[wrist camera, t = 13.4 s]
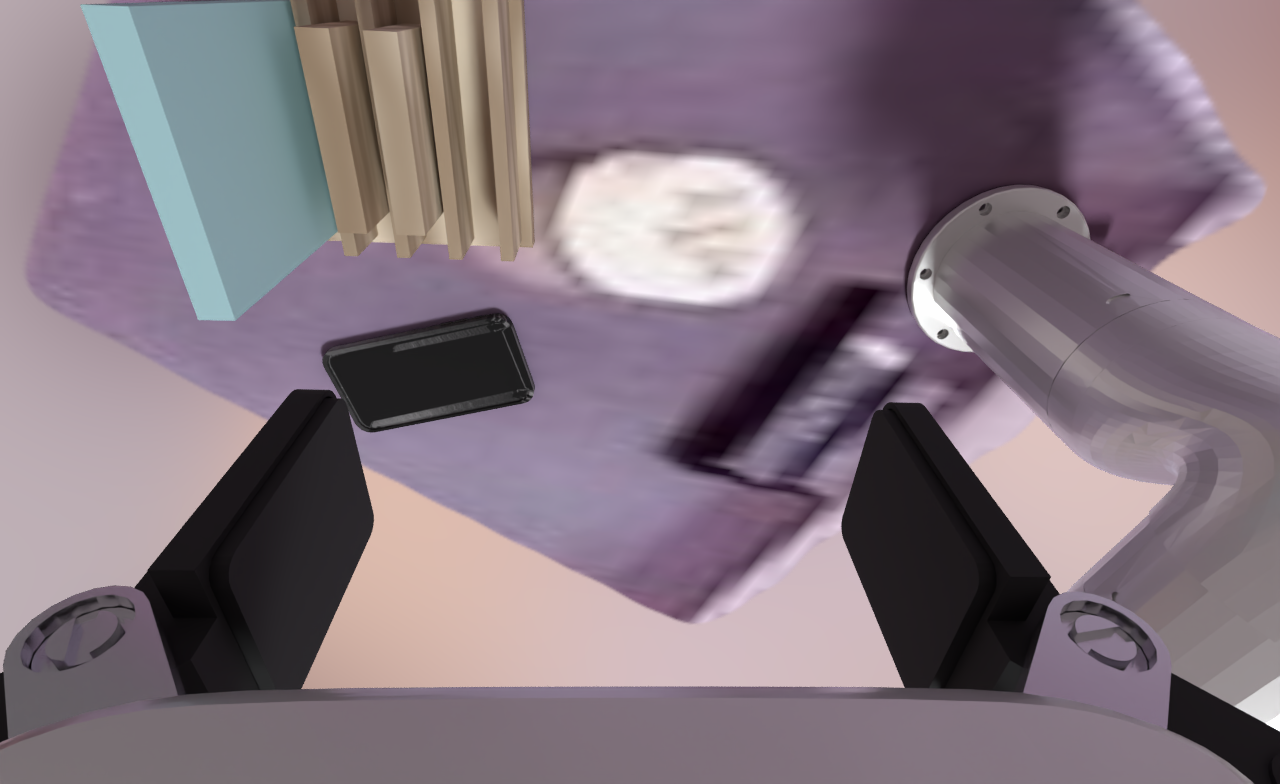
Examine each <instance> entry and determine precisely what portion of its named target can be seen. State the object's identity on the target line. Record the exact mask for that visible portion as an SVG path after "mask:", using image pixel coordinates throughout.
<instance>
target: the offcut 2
mask: <svg viewBox="0 0 1280 784" xmlns="http://www.w3.org/2000/svg"><path fill="white" fill-rule="evenodd" d="M363 36H364V42H365V48H366V54H367V60H368V66H369V72H370V78H371V84H372V90H373V96H374V102H375V108H376V114H377V120H378V127H379V133H380V139H381V145H382V151H383V157H384V163H385V169H386V175H387V181H388V187H389V193H390V199H391V205H392V211H393V217H394V223H395V230H396V235H417V236H426V234H427V233H428V232H429V230H430V229H431V228H432V226H433V225H434V224H435V223H436V221H437V220H438V219H439V217H440V216H441V215H442V214H443V212H444V210H443V202H442V193H441V185H440V177H439V169H438V160H437V152H436V144H435V136H434V127H433V119H432V111H431V103H430V94H429V86H428V78H427V70H426V61H425V53H424V45H423V37H422V28H421V24H405V23H404V24H398V25H392V26H385V27H379V28H373V29H367V30H363Z"/></svg>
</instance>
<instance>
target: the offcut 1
mask: <svg viewBox="0 0 1280 784" xmlns="http://www.w3.org/2000/svg"><path fill="white" fill-rule="evenodd" d="M294 30H295V35H296V40H297V44H298V49H299V53H300V58H301V63H302V67H303V72H304V77H305V81H306V86H307V91H308V95H309V100H310V104H311V109H312V114H313V118H314V123H315V128H316V132H317V137H318V142H319V146H320V151H321V155H322V160H323V165H324V169H325V174H326V179H327V183H328V188H329V193H330V197H331V202H332V207H333V211H334V216H335V220H336V225H337V230H338V233H359V234H368V233H369V232H370V231H371V230H372V229H373V228H374V227H375V226H376V225H377V224H378V223H379V222H380V221H381V220H382V219H383V218H384V217H385V216H386V215H387V214H388V213H389V212H390V210H389V204H388V198H387V192H386V187H385V181H384V175H383V169H382V163H381V157H380V151H379V145H378V139H377V133H376V127H375V121H374V115H373V109H372V103H371V97H370V91H369V85H368V79H367V73H366V67H365V61H364V55H363V49H362V43H361V37H360V31H359V25H358V21H338V22H330V23H321V24H313V25H304V26H296V27H294Z"/></svg>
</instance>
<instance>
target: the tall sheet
mask: <svg viewBox="0 0 1280 784" xmlns="http://www.w3.org/2000/svg"><path fill="white" fill-rule="evenodd" d="M81 8H82V11H83V13H84V16H85V18H86V21H87V24H88V27H89V29H90V32H91V35H92V37H93V40H94V43H95V45H96V48H97V51H98V53H99V56H100V59H101V61H102V64H103V67H104V69H105V72H106V75H107V77H108V80H109V83H110V85H111V88H112V91H113V93H114V96H115V99H116V101H117V104H118V107H119V109H120V112H121V115H122V117H123V120H124V123H125V125H126V128H127V131H128V133H129V136H130V139H131V141H132V144H133V147H134V149H135V152H136V155H137V157H138V160H139V163H140V165H141V168H142V171H143V173H144V176H145V179H146V181H147V184H148V187H149V189H150V192H151V195H152V197H153V200H154V203H155V205H156V208H157V211H158V213H159V216H160V219H161V221H162V224H163V227H164V229H165V232H166V235H167V237H168V240H169V243H170V245H171V248H172V251H173V253H174V256H175V259H176V261H177V264H178V267H179V269H180V272H181V275H182V277H183V280H184V283H185V285H186V288H187V291H188V293H189V296H190V299H191V302H192V304H193V307H194V310H195V312H196V315H197V318H198V320H229V321H235V320H237V319H238V318H239V317H240V316H241V315H242V314H243V313H245V312H246V311H247V310H248V309H249V308H250V307H252V306H253V305H254V304H255V303H256V302H257V301H258V300H260V299H261V298H262V297H263V296H264V295H265V294H266V293H268V292H269V291H270V290H271V289H272V288H273V287H274V286H276V285H277V284H278V283H279V282H280V281H281V280H283V279H284V278H285V277H286V276H287V275H288V274H289V273H291V272H292V271H293V270H294V269H295V268H296V267H297V266H299V265H300V264H301V263H302V262H303V261H304V260H306V259H307V258H308V257H309V256H310V255H311V254H312V253H314V252H315V251H316V250H317V249H318V248H319V247H320V246H322V245H323V244H324V243H325V242H326V241H327V240H329V239H330V238H331V237H332V236H333V235H334V234H335V233H337V232H338V230H337V225H336V220H335V216H334V211H333V207H332V202H331V197H330V193H329V188H328V183H327V179H326V174H325V169H324V165H323V160H322V155H321V151H320V146H319V142H318V137H317V132H316V128H315V123H314V118H313V114H312V109H311V104H310V100H309V95H308V91H307V86H306V81H305V77H304V72H303V67H302V63H301V58H300V53H299V49H298V44H297V40H296V35H295V30H294V27H296V25H295V20H294V16H293V11H292V6H291V2H290V0H218V1H183V2H148V3H114V4H83V5H82V4H81Z"/></svg>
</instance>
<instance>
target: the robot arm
mask: <svg viewBox="0 0 1280 784" xmlns="http://www.w3.org/2000/svg"><path fill="white" fill-rule="evenodd" d="M981 206H982V207H981ZM980 207H981V208H980ZM923 269H924V270H923ZM922 270H923V271H922ZM921 271H922V272H921ZM907 298H908V305H909V308H910V311H911V314H912V316H913V318H914V320H915V321H916V323H917V325H918V326H919V327H920V328H921V329H922V330H923V331H924V333H925V334H926V335H927V336H928V337H929V338H931V339H932V340H933V341H934V342H936V343H938V344H940V345H942V346H944V347H947V348H949V349H953V350H958V351H962V352H975V353H976V354H977V355H978V356H979V357H980V358H981V359H982V360H983V361H984V362H985V363H986V364H987V366H988V367H989V368H990V369H991V370H992V371H993V372H994V373H995V374H996V375H997V376H998V377H999V378H1000V379H1001V380H1002V381H1003V382H1004V383H1005V384H1006V385H1007V386H1008V387H1009V388H1010V389H1011V390H1012V391H1013V392H1014V393H1015V394H1016V395H1017V396H1018V397H1019V398H1020V399H1021V400H1022V401H1023V402H1024V403H1025V404H1026V405H1027V406H1028V407H1029V408H1030V409H1031V410H1032V411H1033V412H1034V413H1035V414H1036V415H1037V416H1038V417H1039V418H1040V419H1041V420H1042V421H1043V422H1044V423H1045V424H1046V425H1047V426H1048V427H1049V428H1050V429H1051V430H1052V431H1053V432H1054V433H1055V434H1056V436H1058V437H1059V438H1060V439H1061V440H1062V441H1063V442H1064V443H1065V444H1066V445H1067V446H1068V447H1069V448H1070V449H1071V450H1072V451H1073V452H1074V453H1075V454H1077V455H1078V456H1079V457H1080V458H1082V459H1083V460H1084V461H1086V462H1088V463H1090V464H1091V465H1093V466H1094V467H1097V468H1098V469H1100V470H1103V471H1105V472H1108V473H1111V474H1113V475H1116V476H1119V477H1123V478H1127V479H1132V480H1136V481H1141V482H1148V483H1157V484H1165V485H1174V486H1173V487H1172V489H1171V490H1170V491H1169V492H1168V493H1167V494H1166V495H1165V496H1164V497H1163V498H1162V499H1161V500H1160V501H1159V502H1158V503H1157V504H1156V505H1155V506H1154V507H1153V508H1152V509H1151V510H1150V512H1149V515H1148V516H1147V517H1146V518H1145V519H1143V520H1142V521H1141V522H1140V523H1139V524H1138V525H1137V526H1136V527H1135V528H1134V529H1133V530H1132V531H1131V532H1130V533H1128V534H1127V535H1126V536H1125V537H1124V538H1123V539H1122V540H1121V541H1120V542H1119V543H1118V544H1117V545H1116V546H1114V547H1113V548H1112V549H1111V550H1110V551H1109V552H1108V553H1107V554H1106V555H1105V556H1104V557H1103V558H1102V559H1100V560H1099V561H1098V562H1097V563H1096V564H1095V565H1094V566H1093V567H1092V568H1091V569H1090V570H1089V571H1088V572H1087V573H1086V574H1084V576H1082V577H1081V578H1080V579H1079V580H1078V581H1077V582H1076V583H1075V584H1074V585H1073V586H1072V587H1071V588H1070V589H1069V590H1068V591H1067V592H1066V593H1062V594H1059V592H1058V591H1057V590H1056V588H1055V587H1054V586H1053V584H1052V583H1051V582H1050V578H1051V576H1050V575H1049V574H1048V573H1047V571H1046V570H1045V569H1044V567H1043V566H1042V564H1041V563H1040V562H1039V560H1038V559H1037V557H1036V556H1035V555H1034V553H1033V552H1032V551H1031V549H1030V548H1029V547H1028V545H1027V544H1026V543H1025V541H1024V540H1023V539H1022V537H1021V536H1020V534H1019V533H1018V532H1017V530H1016V529H1015V528H1014V526H1013V525H1012V524H1011V522H1010V521H1009V520H1008V518H1007V517H1006V516H1005V514H1004V513H1003V512H1002V510H1001V509H1000V507H999V506H998V505H997V503H996V502H995V501H994V499H993V498H992V497H991V495H990V494H989V493H988V491H987V490H986V488H985V487H984V486H983V484H982V483H981V482H980V480H979V479H978V478H977V476H976V475H975V474H974V472H973V471H972V469H971V468H970V467H969V465H968V464H967V463H966V461H965V460H964V459H963V457H962V456H961V455H960V453H959V452H958V450H957V449H956V448H955V446H954V445H953V444H952V442H951V441H950V440H949V438H948V437H947V436H946V434H945V433H944V432H943V430H942V429H941V427H940V426H939V425H938V423H937V422H936V421H935V419H934V418H933V417H932V415H931V414H930V413H929V411H928V410H927V409H926V407H925V406H924V405H923V404H920V403H893V402H889V403H887V404H886V405H885V406H884V408H883V410H877V411H876V412H875V413H874V415H873V417H872V420H871V424H870V427H869V430H868V434H867V437H866V441H865V444H864V447H863V451H862V454H861V457H860V461H859V464H858V467H857V471H856V474H855V477H854V481H853V484H852V488H851V491H850V494H849V498H848V501H847V504H846V508H845V511H844V514H843V518H842V526H841V527H842V536H843V539H844V541H845V544H846V546H847V549H848V551H849V554H850V556H851V559H852V561H853V563H854V566H855V568H856V571H857V573H858V576H859V578H860V580H861V583H862V585H863V588H864V590H865V592H866V595H867V597H868V600H869V602H870V604H871V607H872V609H873V612H874V614H875V617H876V619H877V622H878V624H879V626H880V629H881V631H882V634H883V636H884V639H885V641H886V643H887V646H888V648H889V651H890V653H891V655H892V658H893V660H894V663H895V665H896V667H897V670H898V672H899V675H900V677H901V680H902V682H903V684H904V687H905V688H884V687H883V688H881V687H450V688H449V687H448V688H447V687H442V688H441V687H439V688H341V689H340V688H337V689H301V688H302V686H303V684H304V682H305V679H306V677H307V675H308V673H309V671H310V668H311V666H312V664H313V662H314V660H315V657H316V655H317V653H318V651H319V648H320V646H321V644H322V642H323V640H324V637H325V635H326V633H327V631H328V629H329V626H330V624H331V622H332V619H333V617H334V615H335V613H336V611H337V609H338V606H339V604H340V602H341V600H342V597H343V595H344V593H345V591H346V588H347V586H348V584H349V582H350V580H351V577H352V575H353V573H354V571H355V568H356V566H357V564H358V562H359V560H360V558H361V555H362V553H363V551H364V549H365V546H366V544H367V542H368V540H369V538H370V535H371V532H372V529H373V522H374V515H373V510H372V506H371V502H370V498H369V493H368V489H367V485H366V481H365V477H364V473H363V469H362V465H361V461H360V457H359V452H358V448H357V444H356V440H355V436H354V432H353V428H352V424H351V420H350V416H349V412H348V407H347V404H346V402H345V401H344V400H343V399H337V398H336V396H335V394H334V393H333V392H332V391H330V390H303V389H297V390H294V391H292V392H291V393H290V394H289V396H288V397H287V398H286V399H285V400H284V402H283V403H282V404H281V405H280V407H279V408H278V409H277V410H276V412H275V413H274V414H273V415H272V417H271V418H270V419H269V420H268V422H267V423H266V424H265V425H264V426H263V428H262V429H261V430H260V431H259V433H258V434H257V435H256V437H255V438H254V439H253V440H252V441H251V443H250V444H249V445H248V447H247V448H246V449H245V450H244V452H243V453H242V454H241V455H240V456H239V458H238V459H237V460H236V461H235V462H234V464H233V465H232V466H231V467H230V469H229V470H228V471H227V472H226V474H225V475H224V476H223V477H222V479H221V480H220V481H219V482H218V483H217V485H216V486H215V487H214V489H213V490H212V491H211V492H210V493H209V495H208V496H207V497H206V498H205V500H204V501H203V502H202V503H201V505H200V506H199V507H198V508H197V509H196V511H195V512H194V513H193V515H192V516H191V517H190V518H189V519H188V521H187V522H186V523H185V524H184V526H183V527H182V528H181V529H180V531H179V532H178V533H177V534H176V536H175V537H174V538H173V539H172V540H171V542H170V543H169V544H168V545H167V547H166V548H165V549H164V550H163V552H162V553H161V554H160V555H159V557H158V558H157V559H156V560H155V562H154V563H153V564H152V565H151V566H150V568H149V569H148V571H147V573H146V574H145V575H144V577H143V578H142V579H141V580H140V581H139V583H138V584H137V585H136V586H135V588H133V587H128V586H108V587H101V588H95V589H92V590H88V591H85V592H82V593H79V594H76V595H73V596H71V597H69V598H67V599H65V600H63V601H61V602H59V603H57V604H55V605H53V606H51V607H50V608H48V609H47V610H45V611H44V612H42V613H41V614H39V615H38V616H37V617H35V618H34V619H32V620H31V621H30V622H29V623H28V624H27V625H26V626H25V627H24V628H23V629H22V630H21V631H20V632H19V633H18V634H17V635H16V636H15V638H14V639H13V641H12V642H11V644H10V645H9V647H8V648H7V650H6V654H5V659H4V663H3V671H4V672H2V673H0V784H1280V338H1278V337H1276V336H1274V335H1272V334H1270V333H1268V332H1265V331H1263V330H1261V329H1259V328H1257V327H1255V326H1253V325H1251V324H1249V323H1247V322H1245V321H1243V320H1241V319H1239V318H1238V317H1236V316H1234V315H1232V314H1230V313H1228V312H1226V311H1224V310H1223V309H1221V308H1219V307H1217V306H1215V305H1213V304H1211V303H1209V302H1207V301H1205V300H1203V299H1201V298H1199V297H1197V296H1195V295H1194V294H1192V293H1190V292H1188V291H1186V290H1184V289H1182V288H1180V287H1178V286H1176V285H1175V284H1173V283H1171V282H1169V281H1167V280H1165V279H1163V278H1161V277H1159V276H1158V275H1156V274H1154V273H1152V272H1150V271H1148V270H1146V269H1144V268H1143V267H1141V266H1139V265H1137V264H1136V263H1133V262H1131V261H1129V260H1127V259H1126V258H1124V257H1122V256H1120V255H1118V254H1116V253H1114V252H1112V251H1110V250H1109V249H1107V248H1105V247H1103V246H1101V245H1099V244H1097V243H1095V242H1093V241H1092V240H1090V233H1089V228H1088V225H1087V223H1086V220H1085V218H1084V215H1083V214H1082V213H1081V212H1080V210H1079V209H1078V208H1077V206H1076V205H1075V204H1074V203H1072V202H1071V201H1070V200H1068V199H1067V198H1066V197H1064V196H1063V195H1061V194H1058V193H1056V192H1054V191H1052V190H1050V189H1046V188H1043V187H1039V186H1035V185H1011V186H1005V187H999V188H996V189H993V190H990V191H987V192H984V193H981V194H979V195H977V196H975V197H973V198H971V199H969V200H967V201H965V202H964V203H962V204H961V205H959V206H958V207H957V208H955V209H954V210H952V211H951V212H950V213H948V214H947V215H946V216H945V217H944V218H943V219H942V220H941V221H940V222H939V223H938V224H937V225H936V226H935V227H934V228H933V229H932V230H931V232H930V233H929V234H928V236H927V237H926V238H925V240H924V241H923V242H922V244H921V246H920V248H919V250H918V252H917V253H916V255H915V257H914V260H913V263H912V266H911V269H910V271H909V276H908V283H907Z"/></svg>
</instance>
